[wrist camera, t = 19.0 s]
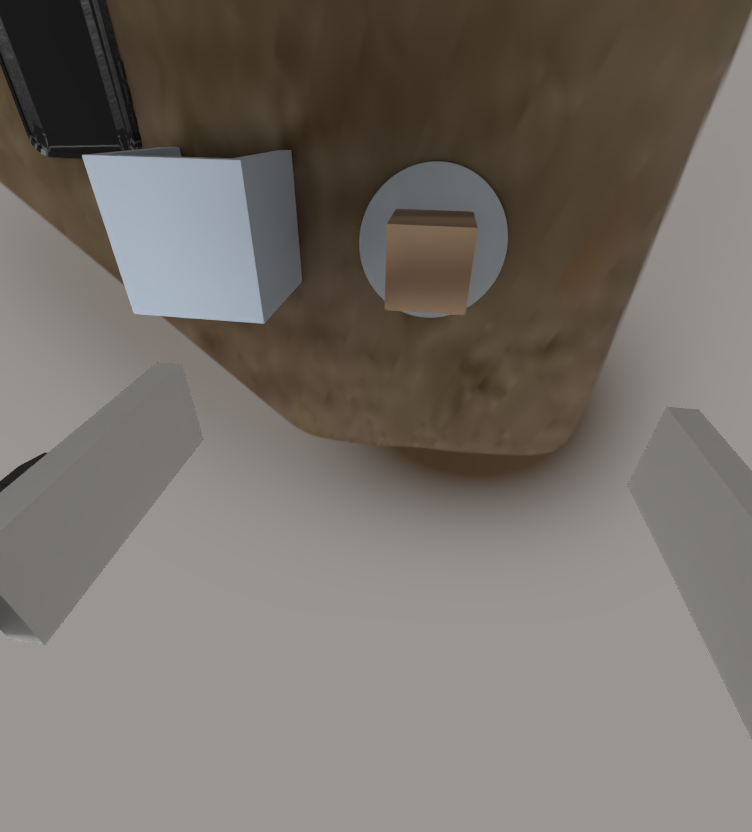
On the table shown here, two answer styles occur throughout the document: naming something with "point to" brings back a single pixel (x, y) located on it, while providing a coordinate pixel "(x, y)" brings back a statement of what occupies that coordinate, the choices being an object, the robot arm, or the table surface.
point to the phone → (67, 77)
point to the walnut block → (429, 260)
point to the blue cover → (200, 231)
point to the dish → (437, 191)
